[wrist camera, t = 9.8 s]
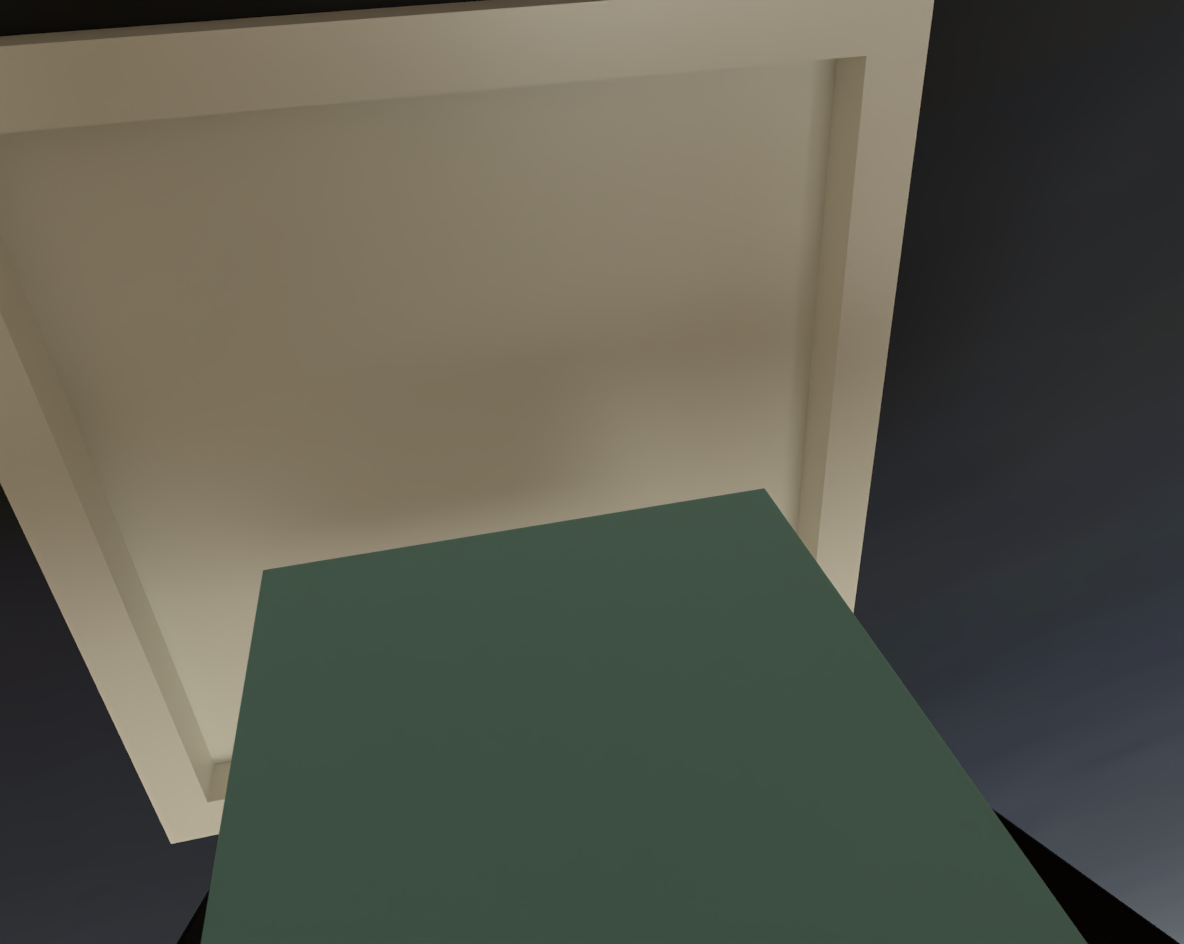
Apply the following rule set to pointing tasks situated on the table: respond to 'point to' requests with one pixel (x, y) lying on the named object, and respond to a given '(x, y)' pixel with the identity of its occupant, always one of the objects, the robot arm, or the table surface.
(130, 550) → the tray
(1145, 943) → the robot arm
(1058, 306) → the table surface
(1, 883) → the table surface
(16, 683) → the table surface
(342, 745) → the teal block
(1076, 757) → the table surface
